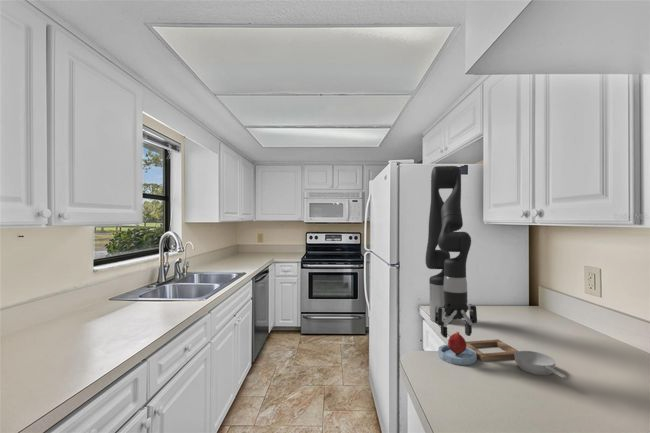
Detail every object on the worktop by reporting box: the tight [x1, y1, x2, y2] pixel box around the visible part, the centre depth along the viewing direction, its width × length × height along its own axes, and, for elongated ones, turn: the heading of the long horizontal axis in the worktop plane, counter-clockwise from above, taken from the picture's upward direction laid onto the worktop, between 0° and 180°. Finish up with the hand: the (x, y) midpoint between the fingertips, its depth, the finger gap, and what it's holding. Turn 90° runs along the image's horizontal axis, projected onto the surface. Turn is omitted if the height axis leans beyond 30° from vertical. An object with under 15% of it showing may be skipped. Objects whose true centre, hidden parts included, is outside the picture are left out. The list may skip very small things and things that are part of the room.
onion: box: [447, 331, 467, 355], centre depth 107 cm, size 6×6×8 cm
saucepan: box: [514, 350, 568, 379], centre depth 94 cm, size 11×18×4 cm, turn 0°
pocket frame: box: [466, 339, 519, 362], centre depth 110 cm, size 12×15×2 cm
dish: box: [438, 344, 478, 366], centre depth 107 cm, size 12×12×2 cm
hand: (456, 336), depth 107 cm, fingers open, 8 cm apart
